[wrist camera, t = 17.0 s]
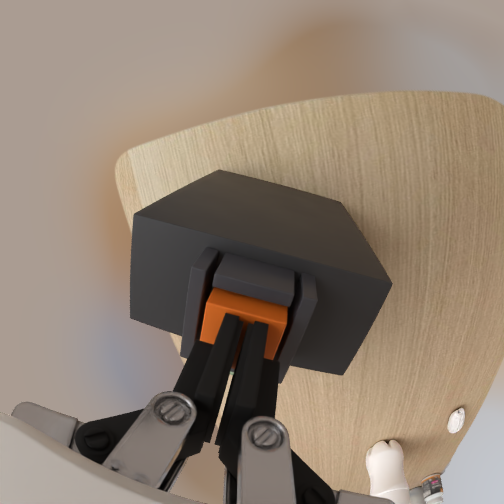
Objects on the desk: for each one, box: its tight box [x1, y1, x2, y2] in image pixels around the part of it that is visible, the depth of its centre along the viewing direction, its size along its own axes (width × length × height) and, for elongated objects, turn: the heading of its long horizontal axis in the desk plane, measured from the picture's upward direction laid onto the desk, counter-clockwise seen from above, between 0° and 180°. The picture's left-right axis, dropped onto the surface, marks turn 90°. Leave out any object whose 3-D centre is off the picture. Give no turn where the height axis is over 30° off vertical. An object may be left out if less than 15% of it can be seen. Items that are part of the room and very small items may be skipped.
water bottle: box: [366, 440, 411, 504], centre depth 30 cm, size 7×7×25 cm
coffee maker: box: [130, 170, 393, 384], centre depth 22 cm, size 16×12×18 cm
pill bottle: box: [421, 473, 443, 504], centre depth 44 cm, size 6×6×10 cm
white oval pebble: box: [448, 408, 465, 433], centre depth 36 cm, size 3×8×3 cm, turn 22°
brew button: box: [200, 287, 288, 369], centre depth 12 cm, size 3×3×2 cm
